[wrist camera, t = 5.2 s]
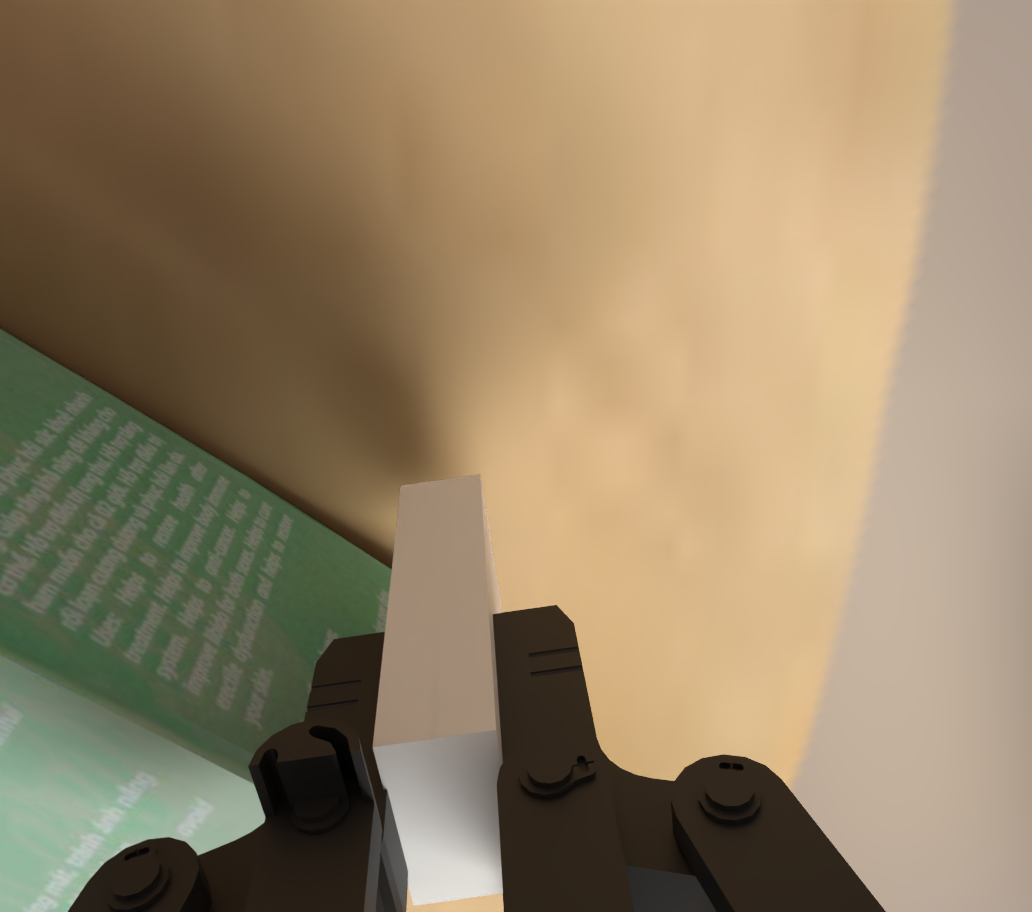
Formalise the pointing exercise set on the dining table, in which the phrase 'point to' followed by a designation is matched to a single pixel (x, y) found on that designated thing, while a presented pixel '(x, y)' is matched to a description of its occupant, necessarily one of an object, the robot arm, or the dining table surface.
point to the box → (144, 630)
